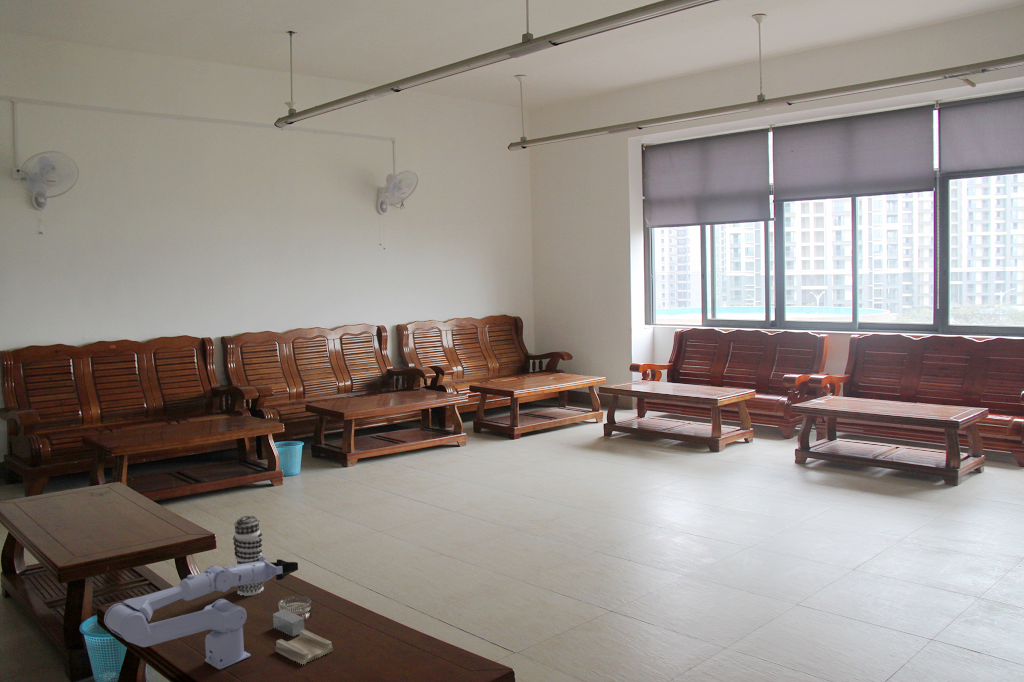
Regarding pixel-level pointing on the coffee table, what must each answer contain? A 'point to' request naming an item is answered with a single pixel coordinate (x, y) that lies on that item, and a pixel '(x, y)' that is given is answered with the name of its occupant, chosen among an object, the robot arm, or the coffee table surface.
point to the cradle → (304, 647)
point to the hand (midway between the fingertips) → (289, 566)
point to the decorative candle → (248, 549)
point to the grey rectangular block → (288, 622)
